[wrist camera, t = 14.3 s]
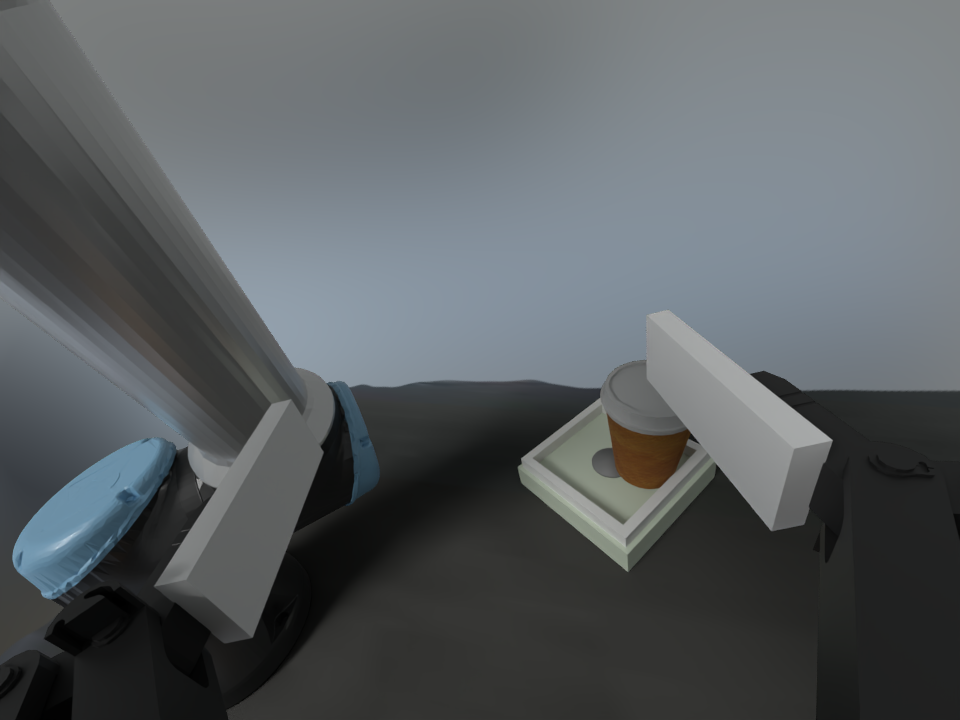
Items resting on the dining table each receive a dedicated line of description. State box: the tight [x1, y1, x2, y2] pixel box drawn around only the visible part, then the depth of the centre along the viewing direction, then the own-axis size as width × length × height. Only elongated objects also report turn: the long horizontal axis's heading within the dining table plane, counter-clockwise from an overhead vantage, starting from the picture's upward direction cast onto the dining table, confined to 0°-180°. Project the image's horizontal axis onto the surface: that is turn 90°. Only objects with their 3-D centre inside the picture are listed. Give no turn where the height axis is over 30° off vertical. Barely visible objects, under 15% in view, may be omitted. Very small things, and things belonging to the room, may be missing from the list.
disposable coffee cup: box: [600, 360, 691, 489], centre depth 41 cm, size 10×10×12 cm
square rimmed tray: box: [518, 398, 716, 572], centre depth 46 cm, size 16×16×4 cm
